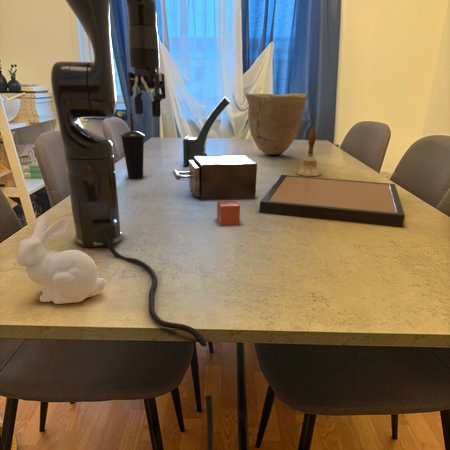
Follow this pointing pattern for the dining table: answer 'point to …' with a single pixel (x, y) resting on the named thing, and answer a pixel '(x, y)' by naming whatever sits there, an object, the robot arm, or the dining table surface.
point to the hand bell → (310, 158)
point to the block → (228, 212)
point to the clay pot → (274, 120)
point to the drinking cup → (133, 152)
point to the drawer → (191, 177)
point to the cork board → (334, 200)
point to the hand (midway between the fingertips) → (147, 115)
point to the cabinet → (227, 177)
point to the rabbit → (58, 266)
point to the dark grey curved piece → (201, 135)
